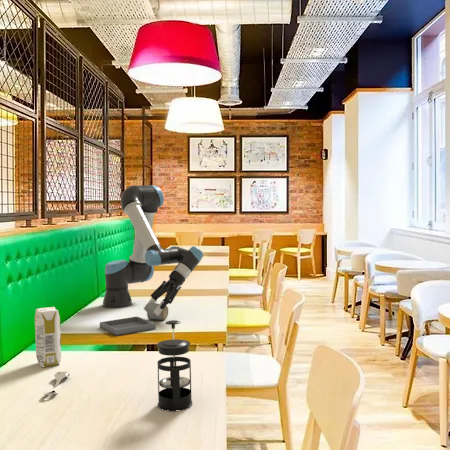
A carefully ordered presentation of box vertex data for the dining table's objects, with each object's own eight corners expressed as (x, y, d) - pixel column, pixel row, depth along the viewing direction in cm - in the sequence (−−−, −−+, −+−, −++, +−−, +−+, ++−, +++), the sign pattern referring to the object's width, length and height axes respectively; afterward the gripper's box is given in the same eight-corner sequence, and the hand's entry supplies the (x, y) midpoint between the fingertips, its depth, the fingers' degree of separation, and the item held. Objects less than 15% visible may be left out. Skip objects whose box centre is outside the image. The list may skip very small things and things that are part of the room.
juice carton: (39, 368, 183) (37, 312, 182) (35, 362, 191) (33, 308, 190) (62, 365, 186) (60, 310, 185) (57, 358, 194) (55, 305, 193)
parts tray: (99, 327, 240) (99, 322, 240) (137, 321, 250) (137, 316, 250) (116, 335, 225) (116, 329, 225) (155, 329, 235) (155, 323, 235)
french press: (156, 399, 153) (154, 317, 152) (190, 396, 155) (188, 315, 154) (158, 415, 142) (156, 327, 140) (195, 412, 143) (192, 325, 142)
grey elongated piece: (56, 386, 154) (39, 387, 154) (56, 399, 154) (39, 400, 154) (71, 368, 174) (56, 369, 174) (71, 380, 174) (56, 380, 174)
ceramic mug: (163, 321, 249) (162, 305, 249) (146, 320, 251) (146, 304, 251) (172, 317, 259) (171, 301, 259) (156, 316, 261) (155, 300, 261)
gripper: (196, 282, 252) (167, 321, 244) (173, 277, 270) (145, 313, 262) (186, 272, 249) (156, 311, 241) (163, 267, 267) (134, 303, 259)
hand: (150, 312), depth 251 cm, fingers closed on ceramic mug, 9 cm apart
